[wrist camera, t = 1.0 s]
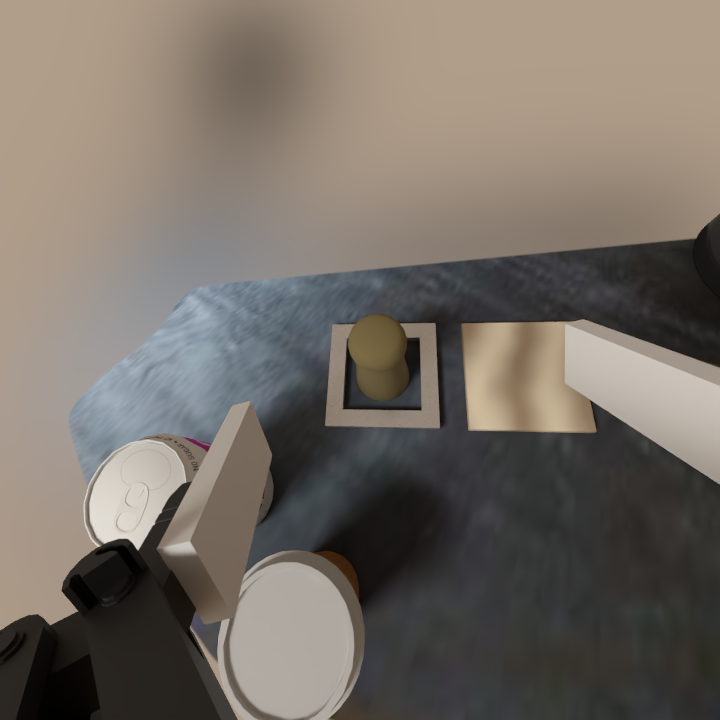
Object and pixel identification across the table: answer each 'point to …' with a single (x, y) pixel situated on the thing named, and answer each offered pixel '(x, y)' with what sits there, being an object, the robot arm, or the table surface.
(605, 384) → the robot arm
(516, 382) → the birch board
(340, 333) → the shaker dock
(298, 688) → the disposable coffee cup
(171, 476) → the supplement can
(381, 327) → the cork
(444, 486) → the table surface
